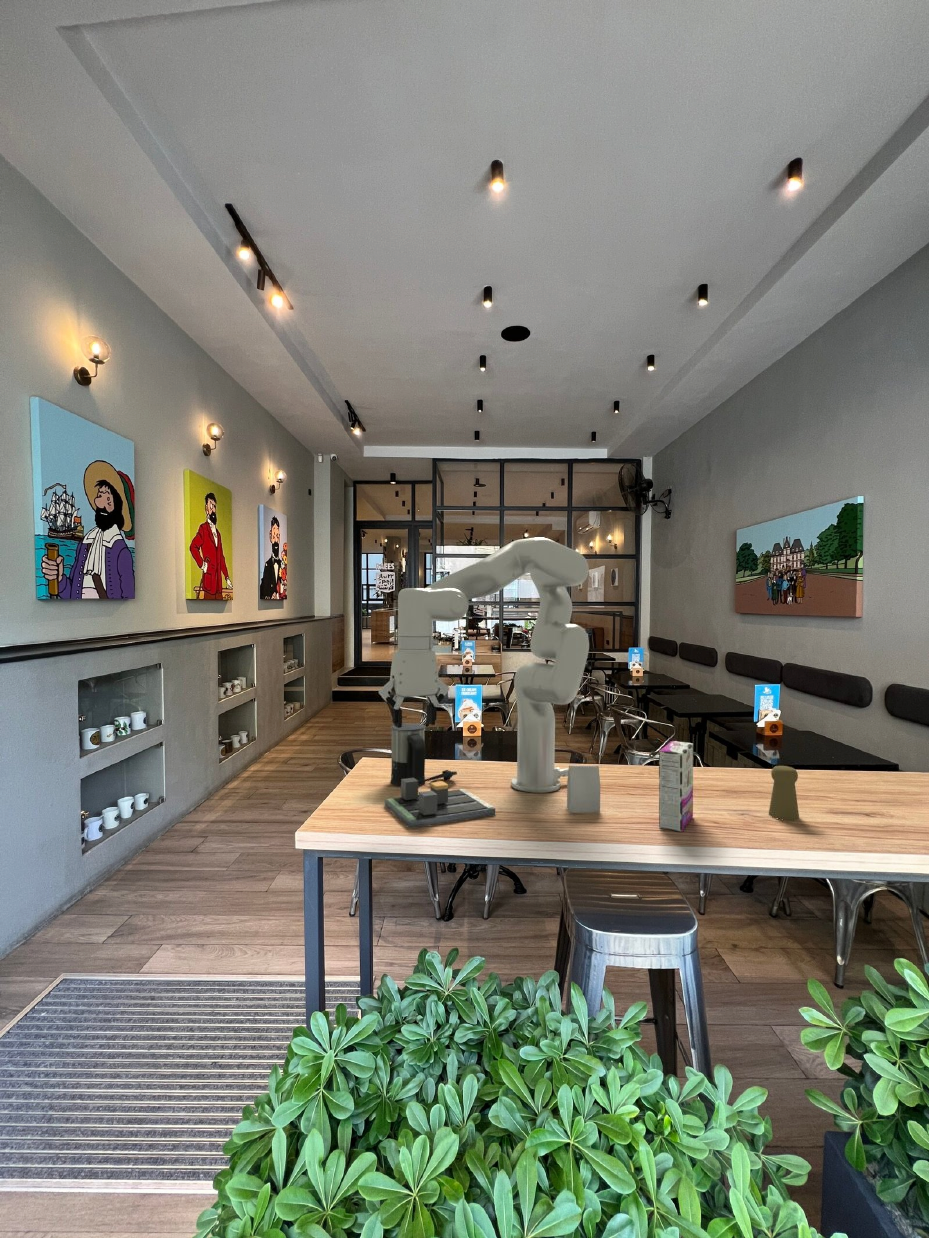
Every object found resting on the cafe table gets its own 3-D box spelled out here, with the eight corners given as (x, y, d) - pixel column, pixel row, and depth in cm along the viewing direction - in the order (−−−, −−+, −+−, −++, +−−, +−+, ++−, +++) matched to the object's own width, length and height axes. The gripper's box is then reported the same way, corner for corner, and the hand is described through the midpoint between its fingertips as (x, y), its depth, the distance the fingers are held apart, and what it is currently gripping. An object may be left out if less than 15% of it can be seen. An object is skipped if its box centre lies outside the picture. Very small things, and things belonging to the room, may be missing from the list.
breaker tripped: (442, 798, 138) (442, 781, 137) (448, 802, 135) (448, 784, 135) (430, 800, 136) (430, 782, 136) (435, 804, 134) (435, 786, 133)
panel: (463, 794, 147) (463, 787, 147) (495, 815, 133) (495, 807, 133) (385, 805, 138) (385, 798, 138) (409, 828, 124) (409, 820, 124)
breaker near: (431, 808, 130) (431, 790, 130) (437, 813, 128) (437, 794, 128) (418, 810, 129) (418, 792, 129) (424, 815, 126) (424, 796, 126)
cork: (787, 822, 130) (788, 771, 130) (762, 814, 135) (763, 765, 135) (805, 818, 132) (806, 768, 132) (779, 810, 138) (780, 762, 138)
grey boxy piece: (600, 812, 135) (600, 768, 135) (570, 812, 135) (570, 768, 135) (596, 807, 139) (596, 764, 139) (566, 807, 139) (567, 763, 139)
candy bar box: (670, 813, 135) (671, 740, 135) (693, 817, 133) (694, 742, 132) (657, 828, 126) (658, 749, 125) (682, 833, 123) (683, 752, 123)
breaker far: (413, 794, 140) (413, 777, 140) (418, 798, 138) (418, 780, 138) (401, 796, 139) (401, 779, 139) (405, 800, 136) (405, 782, 136)
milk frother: (382, 782, 158) (383, 725, 157) (429, 771, 168) (430, 718, 168) (416, 794, 147) (416, 734, 147) (464, 782, 158) (464, 726, 158)
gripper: (444, 643, 140) (443, 719, 140) (371, 644, 132) (371, 725, 132) (458, 644, 133) (457, 725, 133) (382, 646, 125) (381, 731, 126)
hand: (414, 724), depth 133 cm, fingers open, 7 cm apart
